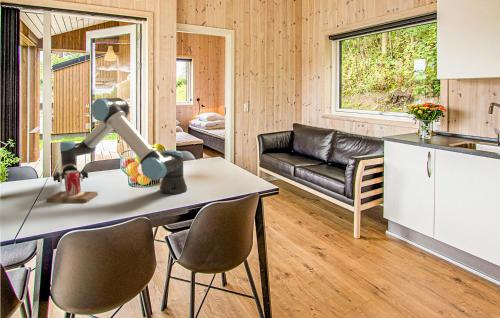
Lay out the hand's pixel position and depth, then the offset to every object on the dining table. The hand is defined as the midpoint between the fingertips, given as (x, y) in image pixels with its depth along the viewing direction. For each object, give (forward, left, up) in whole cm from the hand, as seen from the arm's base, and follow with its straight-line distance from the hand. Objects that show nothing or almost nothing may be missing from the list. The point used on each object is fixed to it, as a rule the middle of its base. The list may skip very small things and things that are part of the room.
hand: (71, 180), depth 176 cm
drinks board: (+4, -2, -11) cm, 12 cm away
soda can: (+4, -3, -9) cm, 10 cm away
